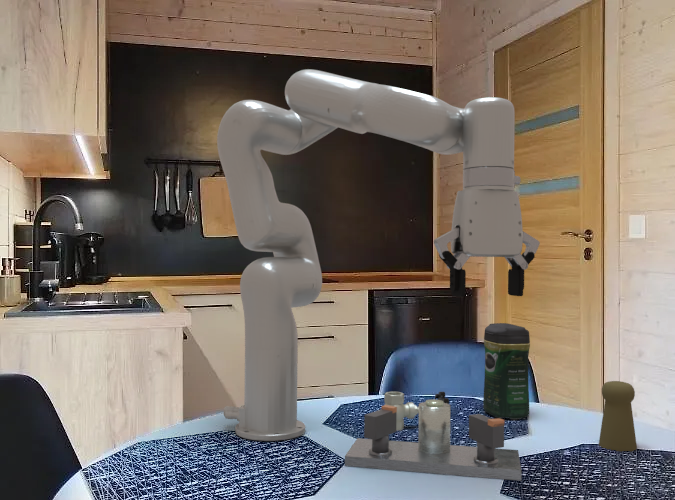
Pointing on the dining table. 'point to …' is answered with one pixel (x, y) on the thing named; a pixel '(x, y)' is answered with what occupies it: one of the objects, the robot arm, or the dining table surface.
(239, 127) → the robot arm
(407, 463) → the plate
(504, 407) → the coffee jar
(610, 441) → the cork
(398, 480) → the dining table surface
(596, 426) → the dining table surface
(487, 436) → the knob
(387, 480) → the dining table surface
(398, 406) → the valve
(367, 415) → the knob
